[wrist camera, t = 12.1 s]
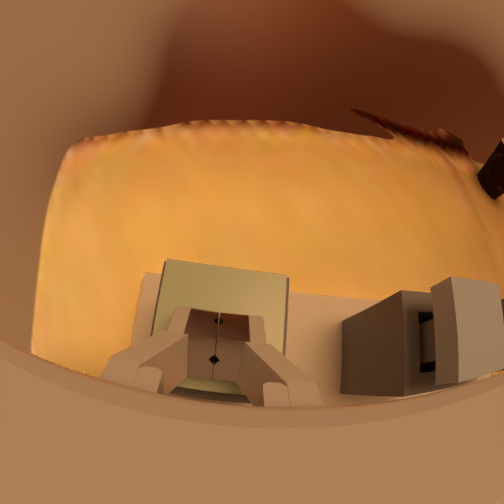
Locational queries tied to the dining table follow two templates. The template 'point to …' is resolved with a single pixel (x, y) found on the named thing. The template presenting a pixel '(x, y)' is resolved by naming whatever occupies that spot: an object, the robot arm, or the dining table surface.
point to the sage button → (222, 304)
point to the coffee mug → (493, 173)
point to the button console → (337, 345)
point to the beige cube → (463, 330)
